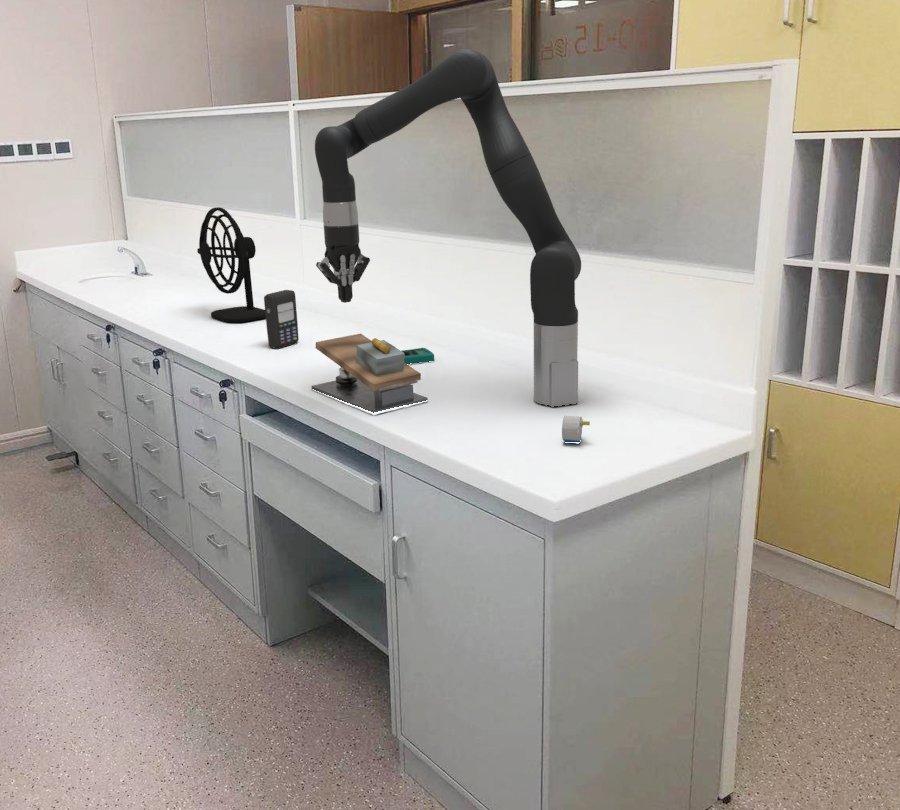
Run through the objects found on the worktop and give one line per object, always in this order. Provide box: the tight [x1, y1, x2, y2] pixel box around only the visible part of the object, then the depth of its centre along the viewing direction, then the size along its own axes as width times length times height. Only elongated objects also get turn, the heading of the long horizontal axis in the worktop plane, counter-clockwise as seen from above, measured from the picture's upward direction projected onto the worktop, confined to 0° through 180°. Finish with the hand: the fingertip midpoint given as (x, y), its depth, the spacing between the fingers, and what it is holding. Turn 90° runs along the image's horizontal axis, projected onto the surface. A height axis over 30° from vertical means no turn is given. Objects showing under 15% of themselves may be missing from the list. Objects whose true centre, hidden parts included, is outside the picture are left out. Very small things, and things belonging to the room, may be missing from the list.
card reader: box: [263, 289, 299, 349], centre depth 245 cm, size 9×4×15 cm, turn 146°
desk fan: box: [196, 206, 266, 323], centre depth 281 cm, size 27×18×35 cm, turn 40°
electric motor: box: [561, 415, 591, 443], centre depth 165 cm, size 7×5×5 cm
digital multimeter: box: [401, 347, 435, 364], centre depth 226 cm, size 7×15×3 cm, turn 110°
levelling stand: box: [310, 367, 428, 413], centre depth 198 cm, size 26×14×5 cm, turn 38°
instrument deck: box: [315, 333, 422, 392], centre depth 195 cm, size 24×12×8 cm, turn 38°
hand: (345, 301), depth 198 cm, fingers closed
